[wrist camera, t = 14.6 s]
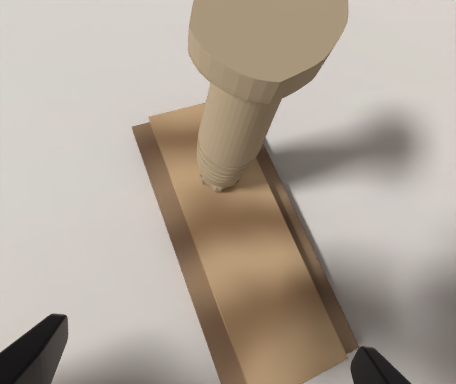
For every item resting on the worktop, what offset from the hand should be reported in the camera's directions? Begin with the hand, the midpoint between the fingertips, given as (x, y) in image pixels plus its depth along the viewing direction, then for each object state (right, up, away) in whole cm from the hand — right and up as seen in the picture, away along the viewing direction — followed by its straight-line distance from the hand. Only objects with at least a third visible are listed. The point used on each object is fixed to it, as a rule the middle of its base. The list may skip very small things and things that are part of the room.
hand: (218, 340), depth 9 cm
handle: (-1, +6, +15) cm, 16 cm away
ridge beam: (+1, +1, +15) cm, 15 cm away
